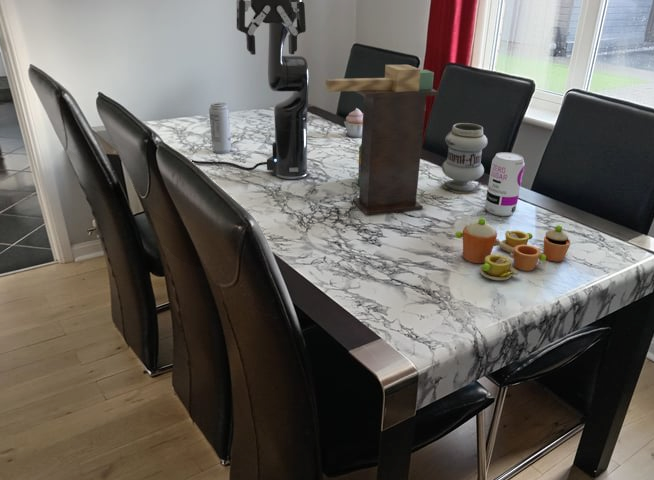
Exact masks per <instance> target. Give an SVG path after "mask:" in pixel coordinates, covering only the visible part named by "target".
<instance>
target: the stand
mask: <svg viewBox="0 0 654 480" xmlns="http://www.w3.org/2000/svg"><path fill="white" fill-rule="evenodd" d="M353 92H354V93H356V94H358V95H360V96H362V97H363V108H362V113H363V126H362V137H361V144H362V147H361V168H360V186H359V191H358V192H359V193H358V197H353V198H352V203H353V204H355V206H356V207H357V208H358V209H359V210H360V211H362V213H363V214H365V215H366V216H374V215H382V214H393V213H400V212H401V213H402V212H410V211H419V210H420V211H421V210H423V205H422V204H421V203H420V202H418V201H417V195H418V194H417V193H418V185H419V184H418V183H419V174H420V166H421V165H420V164H421V155H422V145H423V133H424V123H425V114H426V105H427V97H429V96H430V97H435V96H438V94H439V91H438V90H435V89H434V88H432V90H419V91H413V92H395V91H393V90H374V91H353Z"/></svg>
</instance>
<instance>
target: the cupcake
mask: <svg viewBox="0 0 654 480" xmlns="http://www.w3.org/2000/svg"><path fill="white" fill-rule="evenodd" d="M343 123H344V126H345V128H346V135H347V136H348V137H349V138H350V137H351V138H362V126H363V111H361V110H360V109H359V108H357V107H355V109H354V110H353V111H351V112H349V113H348V115H347V116H346V117H345V120H344V121H343Z"/></svg>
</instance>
